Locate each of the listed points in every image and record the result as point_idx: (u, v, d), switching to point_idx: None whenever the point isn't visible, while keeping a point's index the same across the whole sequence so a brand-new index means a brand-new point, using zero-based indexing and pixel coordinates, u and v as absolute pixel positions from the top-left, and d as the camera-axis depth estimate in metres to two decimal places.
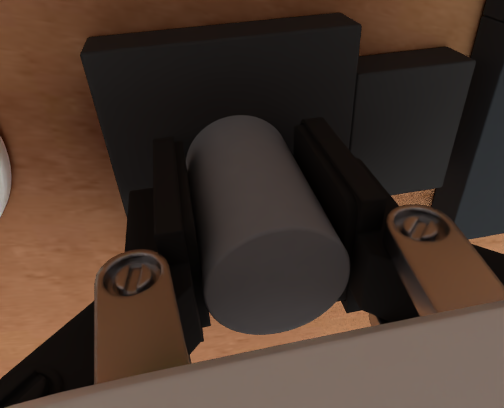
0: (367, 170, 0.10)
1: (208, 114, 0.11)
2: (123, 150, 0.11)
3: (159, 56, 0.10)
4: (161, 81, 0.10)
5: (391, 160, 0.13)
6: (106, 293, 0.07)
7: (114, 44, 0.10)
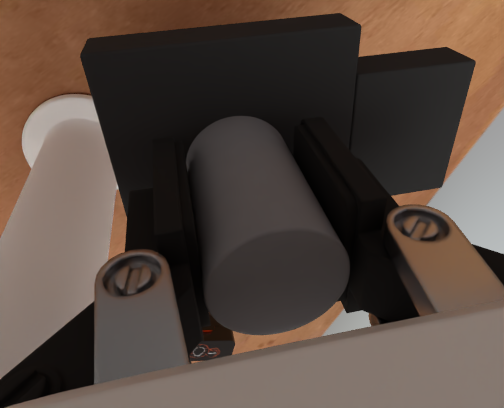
0: (367, 170, 0.10)
1: (208, 115, 0.11)
2: (123, 151, 0.11)
3: (159, 57, 0.10)
4: (161, 82, 0.10)
5: (391, 160, 0.13)
6: (106, 293, 0.07)
7: (114, 45, 0.10)
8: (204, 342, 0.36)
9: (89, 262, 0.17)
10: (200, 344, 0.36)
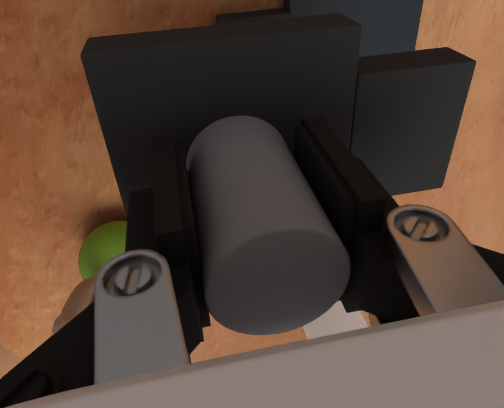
0: (367, 170, 0.10)
1: (208, 114, 0.11)
2: (123, 150, 0.11)
3: (159, 57, 0.10)
4: (161, 82, 0.10)
5: (391, 160, 0.13)
6: (106, 293, 0.07)
7: (113, 44, 0.10)
8: None
9: None
10: None
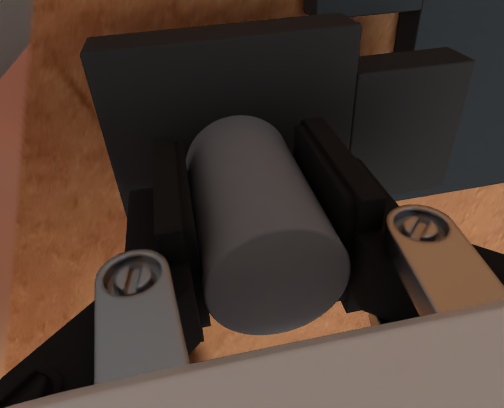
0: (367, 170, 0.10)
1: (208, 114, 0.11)
2: (123, 150, 0.11)
3: (159, 56, 0.10)
4: (161, 81, 0.10)
5: (391, 160, 0.13)
6: (106, 293, 0.07)
7: (113, 44, 0.10)
8: None
9: None
10: None
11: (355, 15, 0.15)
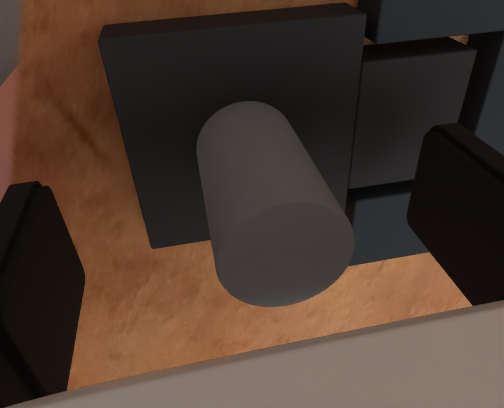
0: None
1: (218, 100, 0.12)
2: (137, 134, 0.12)
3: (172, 43, 0.10)
4: (174, 67, 0.11)
5: (394, 147, 0.14)
6: None
7: (129, 31, 0.11)
8: None
9: None
10: None
11: (424, 37, 0.12)
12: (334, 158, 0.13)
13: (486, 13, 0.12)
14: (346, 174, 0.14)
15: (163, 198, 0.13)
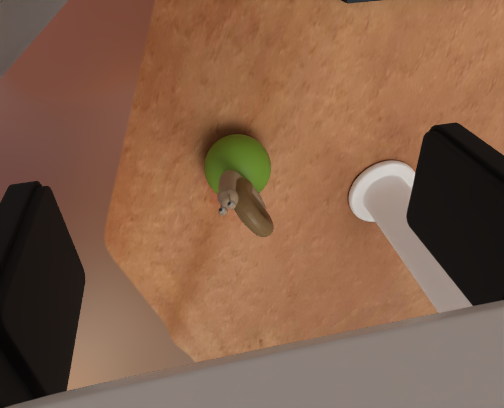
0: None
1: None
2: None
3: None
4: None
5: None
6: None
7: None
8: None
9: None
10: None
11: None
12: None
13: None
14: None
15: None
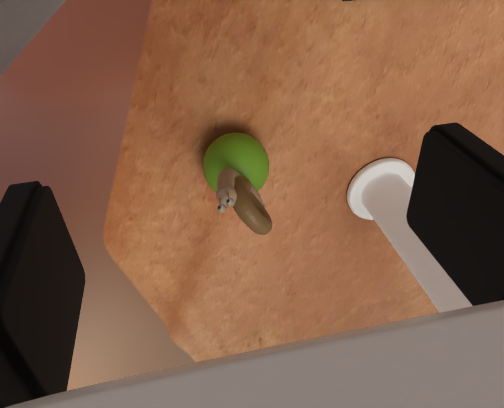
0: None
1: None
2: None
3: None
4: None
5: None
6: None
7: None
8: None
9: None
10: None
11: None
12: None
13: None
14: None
15: None
